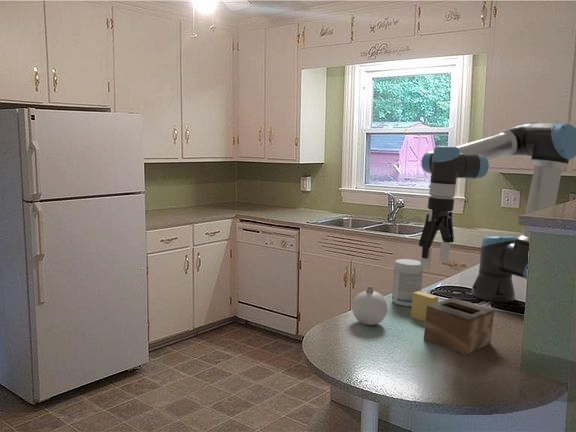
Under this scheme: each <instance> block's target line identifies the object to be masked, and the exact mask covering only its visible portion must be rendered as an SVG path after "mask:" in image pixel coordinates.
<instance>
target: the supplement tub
mask: <svg viewBox="0 0 576 432" xmlns="http://www.w3.org/2000/svg"><path fill="white" fill-rule="evenodd" d="M420 265H421V260H420V261H419V260H416V259H410V258H409V259H408V258H400V259H396V260H394V268H393V281H392V282H393V283H392V296H391V300H392V302H393V304H394V305H395V304H396V305H397V306H402V307H411V308H412V298H413V293H414V292H417V291H421V292H422V282H423V268H420Z"/></svg>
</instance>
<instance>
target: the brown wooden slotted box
mask: <svg viewBox="0 0 576 432" xmlns="http://www.w3.org/2000/svg"><path fill="white" fill-rule="evenodd" d="M494 316H495V309H494V308H491V307H490V308H489V307H486V306H482V305H480V304H476V303H472V302H469V301H465V300H463V299H459V298H454V297H451V298H448V299H445V300H441V301H438V303H435V304H432V305H428V306H427V310H426V320H425V321H424V330H423V331H424V333H423V341H425V342H428V343H432V344H434V345H437V346H440V347H443V348H445V349H448V348H449V349H448V350H450V349H451V351H453V350H454V352H456V351H457V352H456V353H459V352H460V353H459V354H461V353H463V354H462V355H464V354H465V355H464V356H467V355H469V354H471V353H473V352H475V351H477V350H479V349H481V347H482V348H483V347H486V346H488V345H490V344H491V341H492V340H491V339H492V334H493V333H492V332H493V323H494ZM476 349H477V350H476ZM474 350H475V351H474ZM472 351H473V352H472ZM470 352H471V353H470ZM468 353H469V354H468ZM466 354H467V355H466Z"/></svg>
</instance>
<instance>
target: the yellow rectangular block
mask: <svg viewBox="0 0 576 432" xmlns="http://www.w3.org/2000/svg"><path fill="white" fill-rule="evenodd" d="M438 302H439V296H438V295H434V294H430V293H428V292H425V291H422V290H421V291H417V292H414V293H413V298H412V306H411V308H410V309H411V310H410V317H411V318H414V319H416V320H420V321H423V322H425V320H426V310H427V306H428V305H432V304H435V303H438Z"/></svg>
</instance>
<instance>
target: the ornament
mask: <svg viewBox="0 0 576 432" xmlns="http://www.w3.org/2000/svg"><path fill="white" fill-rule="evenodd" d="M387 313H388V302H387V300H386V299H385V297H384V296H383V295H382V294H381V293H379V292H378V291H376V290H373V287H372V285H368V287H367V289H366V290H364V291H362V292H358V294H357V295H356V296H355V297H354V300H353V301H352V314H353V316H354V318H355V319H356V320H357V321H358V322H359V323H360V324H363V325H366V326H375V325H378V324H379V323H382V322H383V321H384V319H385V318H386V317H387Z"/></svg>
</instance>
